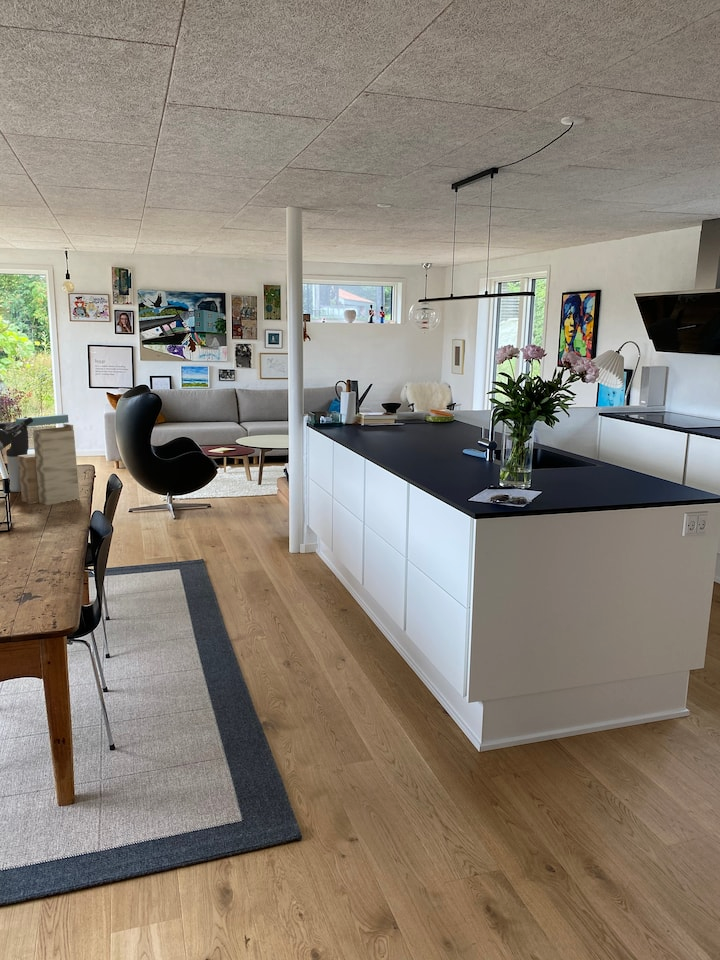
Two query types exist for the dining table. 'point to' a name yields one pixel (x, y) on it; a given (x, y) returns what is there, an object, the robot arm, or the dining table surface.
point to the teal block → (45, 420)
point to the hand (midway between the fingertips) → (29, 418)
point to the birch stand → (56, 464)
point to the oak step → (28, 478)
